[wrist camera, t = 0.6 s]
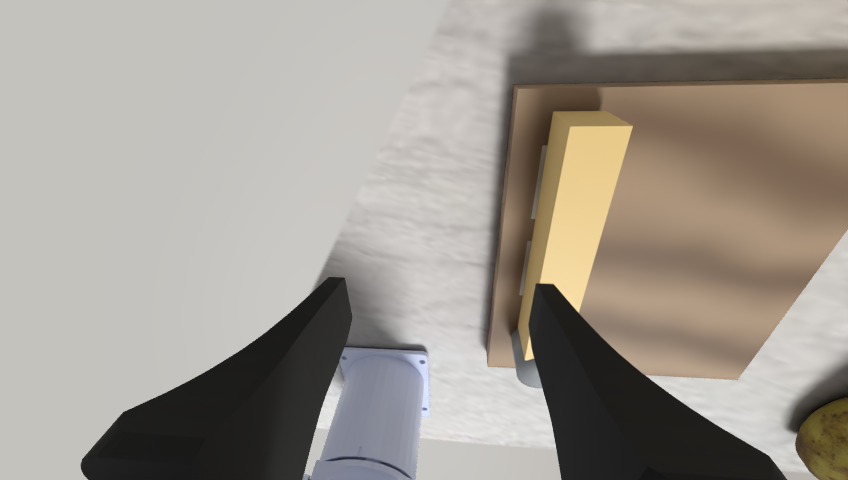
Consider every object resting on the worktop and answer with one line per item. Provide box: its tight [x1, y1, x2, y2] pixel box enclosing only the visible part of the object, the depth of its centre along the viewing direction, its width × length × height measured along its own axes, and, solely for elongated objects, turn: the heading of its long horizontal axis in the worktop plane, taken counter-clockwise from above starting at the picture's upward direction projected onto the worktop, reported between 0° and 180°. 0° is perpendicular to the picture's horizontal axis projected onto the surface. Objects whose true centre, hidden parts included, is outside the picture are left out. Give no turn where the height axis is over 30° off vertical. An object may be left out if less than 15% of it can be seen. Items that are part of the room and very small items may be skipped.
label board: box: [487, 78, 848, 380], centre depth 22 cm, size 21×19×2 cm
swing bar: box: [511, 111, 633, 388], centre depth 20 cm, size 18×3×3 cm, turn 2°
